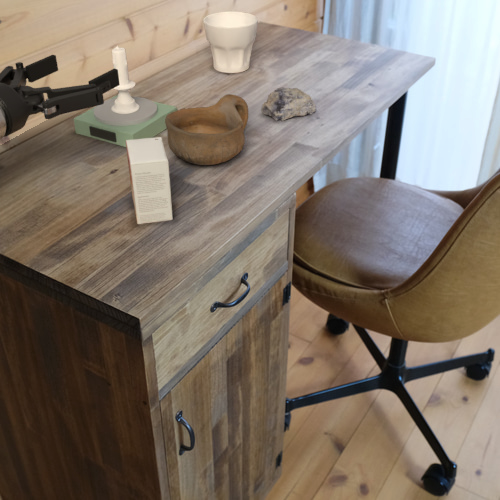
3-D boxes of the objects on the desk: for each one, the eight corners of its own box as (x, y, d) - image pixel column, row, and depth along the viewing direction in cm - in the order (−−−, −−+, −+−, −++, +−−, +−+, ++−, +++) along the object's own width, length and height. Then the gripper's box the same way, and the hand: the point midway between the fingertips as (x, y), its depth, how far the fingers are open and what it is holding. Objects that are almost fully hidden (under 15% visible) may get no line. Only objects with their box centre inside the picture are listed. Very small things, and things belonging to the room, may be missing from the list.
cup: (194, 70, 150) (192, 22, 144) (222, 54, 159) (221, 8, 152) (241, 80, 145) (240, 30, 139) (267, 63, 154) (268, 15, 147)
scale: (74, 133, 123) (71, 115, 121) (121, 107, 133) (119, 89, 131) (133, 150, 118) (131, 131, 115) (177, 121, 128) (176, 103, 126)
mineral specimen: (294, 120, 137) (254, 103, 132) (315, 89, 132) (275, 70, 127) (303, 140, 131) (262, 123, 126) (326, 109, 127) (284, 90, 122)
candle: (107, 106, 124) (99, 44, 117) (134, 101, 126) (127, 39, 119) (116, 116, 120) (108, 53, 113) (143, 111, 122) (137, 48, 115)
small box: (132, 198, 104) (124, 139, 98) (167, 194, 105) (161, 135, 99) (136, 225, 98) (129, 163, 92) (173, 221, 99) (168, 159, 93)
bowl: (191, 118, 125) (202, 72, 119) (256, 148, 124) (270, 103, 117) (146, 157, 112) (156, 107, 105) (218, 192, 110) (232, 143, 104)
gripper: (-61, 120, 103) (35, 77, 118) (58, 156, 93) (146, 104, 108) (-75, 75, 99) (27, 36, 114) (48, 108, 89) (142, 60, 104)
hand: (85, 69), depth 111 cm, fingers open, 13 cm apart
